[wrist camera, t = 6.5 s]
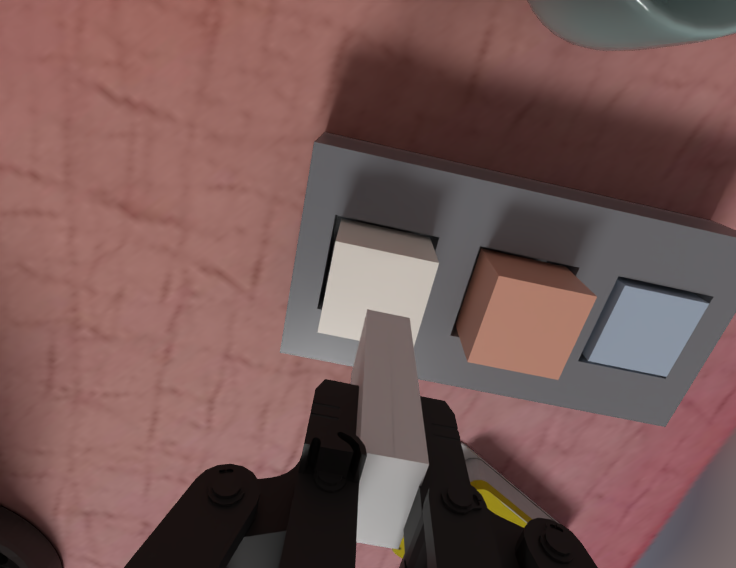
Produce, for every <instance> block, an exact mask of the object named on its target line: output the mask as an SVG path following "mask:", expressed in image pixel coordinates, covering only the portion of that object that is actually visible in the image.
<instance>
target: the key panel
mask: <svg viewBox="0 0 736 568" xmlns="http://www.w3.org/2000/svg"><path fill="white" fill-rule="evenodd" d="M341 219H347V220H352V221H356V222H361V223H366V224H370V225H375V226H380V227H384V228H389V229H393V230H398V231H403V232H407V233H412V234H417V235H421V236H426V237H430V239H431V242H432V244H433V247H434V250H435V253H436V256H437V259H438V261H439V265H438V269H437V272H436V275H435V279H434V282H433V285H432V288H431V292H430V295H429V298H428V302H427V305H426V308H425V312H424V315H423V318H422V322H421V325H420V328H419V332H418V335H417V338H416V342H415V345H414V354H415V361H416V369H417V376H418V379H420V380H425V381H430V382H436V383H441V384H446V385H451V386H456V387H461V388H467V389H472V390H477V391H482V392H487V393H493V394H498V395H503V396H508V397H513V398H518V399H524V400H529V401H534V402H539V403H544V404H549V405H555V406H560V407H565V408H570V409H575V410H581V411H586V412H591V413H596V414H601V415H606V416H612V417H617V418H622V419H627V420H632V421H638V422H643V423H648V424H653V425H658V426H663V427H666V425H667V423H668V422H669V420H670V418H671V417H672V415H673V414H674V412H675V410H676V409H677V407H678V405H679V404H680V402H681V401H682V399H683V397H684V396H685V394H686V392H687V391H688V389H689V388H690V386H691V384H692V383H693V381H694V379H695V378H696V376H697V375H698V373H699V371H700V370H701V368H702V366H703V365H704V363H705V362H706V360H707V358H708V357H709V355H710V353H711V352H712V350H713V349H714V347H715V345H716V344H717V342H718V340H719V339H720V337H721V336H722V334H723V332H724V331H725V329H726V327H727V326H728V324H729V323H730V321H731V319H732V318H733V316H734V314H735V313H736V230H733V229H731V228H728V227H726V226H724V225H721V224H719V223H716V222H714V221H711V220H707V219H702V218H698V217H694V216H689V215H685V214H680V213H676V212H672V211H667V210H663V209H659V208H654V207H650V206H646V205H641V204H637V203H632V202H628V201H624V200H619V199H615V198H611V197H606V196H602V195H597V194H593V193H589V192H584V191H580V190H576V189H571V188H567V187H563V186H558V185H554V184H549V183H545V182H541V181H536V180H532V179H528V178H523V177H519V176H515V175H510V174H506V173H501V172H497V171H493V170H488V169H484V168H480V167H475V166H471V165H467V164H462V163H458V162H453V161H449V160H445V159H440V158H436V157H432V156H427V155H423V154H418V153H414V152H410V151H405V150H401V149H397V148H392V147H388V146H384V145H379V144H375V143H370V142H366V141H362V140H357V139H353V138H349V137H344V136H340V135H336V134H331V133H327V132H325V133H323V134H322V135H321V136H320V137H319V138H318V139H317V140H316V141H314V146H313V152H312V159H311V165H310V171H309V177H308V183H307V189H306V195H305V201H304V208H303V214H302V220H301V226H300V232H299V238H298V244H297V251H296V257H295V263H294V269H293V275H292V281H291V287H290V294H289V300H288V306H287V312H286V318H285V324H284V330H283V336H282V343H281V349H280V353H285V354H290V355H296V356H301V357H306V358H311V359H316V360H322V361H327V362H332V363H337V364H342V365H347V366H354V362H355V357H356V353H357V349H358V345H359V341H358V340H353V339H348V338H343V337H338V336H333V335H328V334H323V333H318V327H319V322H320V317H321V312H322V307H323V302H324V297H325V292H326V287H327V282H328V277H329V272H330V266H331V261H332V256H333V251H334V246H335V241H336V237H337V234H338V230H339V226H340V222H341ZM481 249H486V250H491V251H495V252H500V253H504V254H509V255H514V256H518V257H523V258H528V259H532V260H537V261H542V262H546V263H551V264H555V265H560V266H565V267H567V268H568V269H569V270H570V271H571V272H572V273H573V274H574V275H575V276H576V277H577V278H578V279H579V280H580V281H581V282H582V283H583V284H584V285H585V286H587V287H588V288H589V289H590V290H591V291H592V292H593V293H594V294H595V295H596V296H597V298H596V300H595V302H594V305H593V307H592V309H591V311H590V313H589V315H588V317H587V320H586V322H585V324H584V326H583V328H582V330H581V332H580V335H579V337H578V339H577V341H576V343H575V345H574V347H573V349H572V352H571V354H570V356H569V358H568V360H567V362H566V364H565V367H564V369H563V371H562V373H561V375H560V377H559V379H558V380H556V379H551V378H546V377H541V376H535V375H530V374H525V373H520V372H515V371H510V370H505V369H500V368H495V367H490V366H485V365H480V364H475V363H470V362H467V359H466V356H465V353H464V350H463V347H462V344H461V341H460V338H459V335H458V332H457V329H456V326H455V325H456V322H457V319H458V316H459V313H460V310H461V307H462V304H463V301H464V298H465V295H466V292H467V289H468V286H469V283H470V280H471V277H472V274H473V271H474V268H475V265H476V262H477V259H478V256H479V253H480V250H481ZM618 276H620V277H625V278H630V279H634V280H639V281H644V282H648V283H653V284H657V285H662V286H667V287H671V288H676V289H680V290H685V291H690V292H692V293H694V294H695V295H697V296H698V297H700V298H701V299H703V300H704V301H706V302H708V303H709V305H708V307H707V309H706V310H705V312H704V314H703V316H702V317H701V319H700V321H699V322H698V324H697V326H696V328H695V329H694V331H693V333H692V334H691V336H690V338H689V340H688V341H687V343H686V345H685V346H684V348H683V350H682V352H681V353H680V355H679V357H678V358H677V360H676V362H675V364H674V365H673V367H672V369H671V370H670V372H669V374H668V376H667V377H665V376H660V375H655V374H650V373H645V372H640V371H635V370H630V369H625V368H620V367H615V366H610V365H605V364H600V363H596V362H591V361H588V360H587V359H586V358H585V356H584V355H583V354H582V351H583V349H584V347H585V345H586V343H587V341H588V339H589V337H590V335H591V333H592V330H593V328H594V326H595V324H596V322H597V320H598V318H599V316H600V314H601V312H602V310H603V308H604V305H605V303H606V301H607V299H608V297H609V295H610V293H611V291H612V289H613V287H614V285H615V283H616V280H617V278H618Z"/></svg>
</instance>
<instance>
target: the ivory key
mask: <svg viewBox="0 0 736 568" xmlns="http://www.w3.org/2000/svg"><path fill="white" fill-rule="evenodd" d="M438 265H439V261H438V259H437V256H436V253H435V250H434V247H433V244H432V242H431V239H430V237H426V236H421V235H417V234H412V233H407V232H403V231H398V230H393V229H389V228H384V227H380V226H375V225H370V224H366V223H361V222H356V221H352V220H347V219H341V222H340V226H339V230H338V234H337V237H336V241H335V246H334V251H333V256H332V261H331V266H330V272H329V277H328V282H327V287H326V292H325V297H324V302H323V307H322V312H321V317H320V322H319V327H318V333H323V334H328V335H333V336H338V337H343V338H348V339H353V340H358V341H360V337H361V333H362V329H363V325H364V321H365V316H366V312H367V309H369V310H373V311H378V312H383V313H388V314H393V315H398V316H403V317H408V318H410V324H411V331H412V339H413V346H414V345H415V342H416V338H417V335H418V332H419V328H420V325H421V322H422V318H423V315H424V312H425V308H426V305H427V302H428V298H429V295H430V292H431V288H432V285H433V282H434V279H435V275H436V272H437V269H438Z"/></svg>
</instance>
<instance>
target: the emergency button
mask: <svg viewBox="0 0 736 568" xmlns="http://www.w3.org/2000/svg"><path fill="white" fill-rule="evenodd" d="M461 445H462V449H463V453H464V458H465V462H466V467H467V471H468V475H469V480H470V484H471V485H472V486H473V487H475V488H476V490H477V491H478V492H479V493H480V494H481V495H482V496H483V499H484V501H485V503H486V505H487V508H488V509H489V510H490V511H492V512H493V513H495V514H496V515H498V516H500V517H502V518H504V519H506V520H508V521H510V522H513V523H515V524H517V525H519V526H521V527H523V528H524V527H525V526H526V525H527V523H528V522H529V521H530V520H532V519H536V518H545V519H550V520H553V521H555V522H557V521H556V520H555V519H554V518H552V517H551V516H550V515H549V514H548V513H546V512H545V511H544V510H543V509H542V508H540V507H539V506H538V505H537V504H536V503H535V502H533V501H532V500H531V499H530V498H529V497H527V496H526V495H525V494H524V493H523V492H521V491H520V490H519V489H518V488H517V487H515V486H514V485H513V484H512V483H511V482H510V481H508V480H507V479H506V478H505V477H504V476H502V475H501V474H500V473H499V472H498V471H496V470H495V469H494V468H493V467H492V466H490V465H489V464H488V463H487V462H486V461H485V460H483V459H482V458H481V457H480V456H479V455H477V454H476V453H475V452H474V451H473V450H471V449H470V448H469V447H468V446H467V445H465V444H464V443H462V442H461ZM557 523H558V522H557ZM559 524H560V523H559ZM392 550H393V552H394V553H395V554H396V555H398V556H399V557H401V558H402V559H403V556H404V554H405V549H404V535H403V538H402V540H401V543H400V546H399V549H393V548H392Z"/></svg>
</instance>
